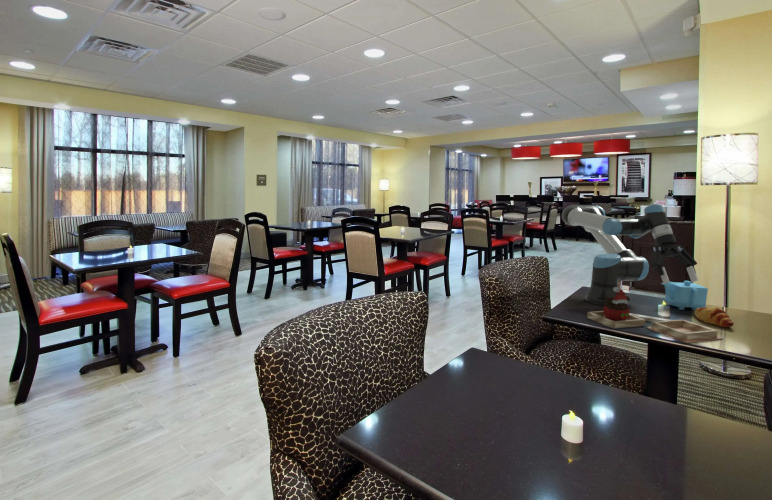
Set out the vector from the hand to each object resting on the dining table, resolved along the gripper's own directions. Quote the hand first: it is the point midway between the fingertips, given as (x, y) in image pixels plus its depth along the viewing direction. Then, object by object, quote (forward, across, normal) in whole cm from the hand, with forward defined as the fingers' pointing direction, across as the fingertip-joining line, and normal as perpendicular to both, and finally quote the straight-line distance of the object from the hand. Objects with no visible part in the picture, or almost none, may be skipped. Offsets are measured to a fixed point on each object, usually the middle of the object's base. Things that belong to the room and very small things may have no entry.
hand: (680, 282), depth 181 cm
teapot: (+5, +16, +24) cm, 29 cm away
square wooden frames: (+18, -22, +1) cm, 28 cm away
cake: (+14, -30, +7) cm, 34 cm away
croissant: (+17, +13, +6) cm, 22 cm away
